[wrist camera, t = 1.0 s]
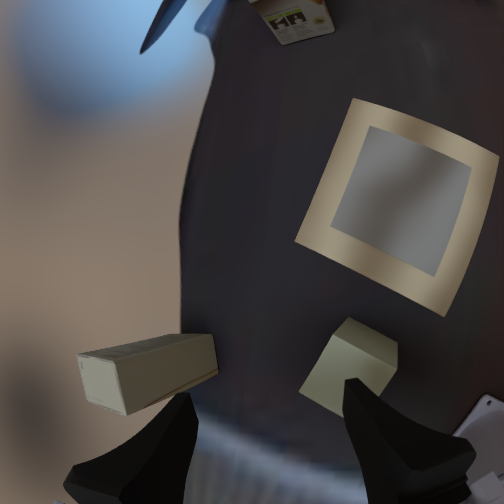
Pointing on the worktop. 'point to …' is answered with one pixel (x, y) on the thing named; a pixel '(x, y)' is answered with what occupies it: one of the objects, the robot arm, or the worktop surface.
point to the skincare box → (146, 370)
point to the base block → (401, 203)
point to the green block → (351, 364)
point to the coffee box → (295, 18)
